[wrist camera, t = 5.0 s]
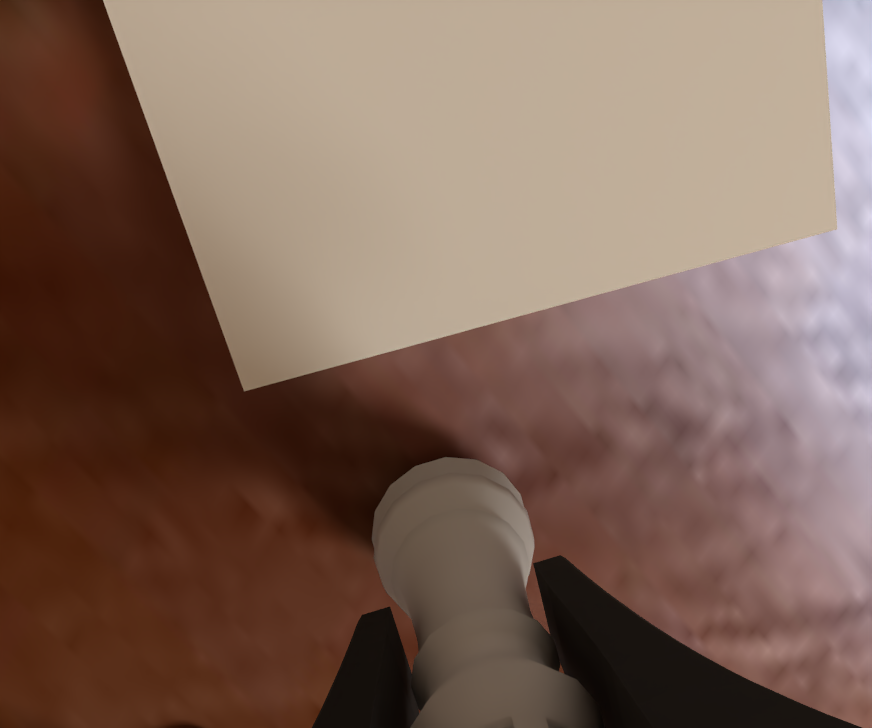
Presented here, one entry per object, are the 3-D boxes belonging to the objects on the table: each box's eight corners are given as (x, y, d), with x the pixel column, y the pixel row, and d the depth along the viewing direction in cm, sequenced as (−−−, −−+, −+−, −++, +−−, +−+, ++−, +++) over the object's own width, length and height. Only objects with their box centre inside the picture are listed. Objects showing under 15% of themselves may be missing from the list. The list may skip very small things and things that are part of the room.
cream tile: (258, 377, 14) (244, 391, 12) (99, -75, 11) (58, -123, 10) (792, 232, 15) (837, 229, 13) (753, -220, 12) (803, -284, 11)
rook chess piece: (414, 613, 15) (448, 986, 7) (343, 494, 14) (296, 784, 6) (545, 546, 15) (717, 850, 7) (484, 423, 14) (609, 625, 6)
